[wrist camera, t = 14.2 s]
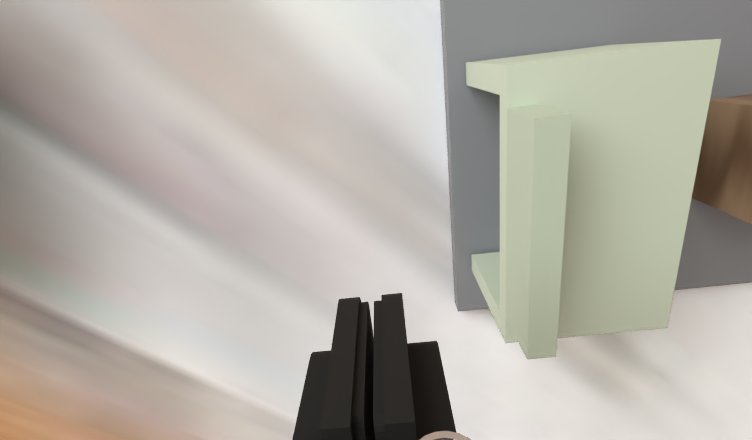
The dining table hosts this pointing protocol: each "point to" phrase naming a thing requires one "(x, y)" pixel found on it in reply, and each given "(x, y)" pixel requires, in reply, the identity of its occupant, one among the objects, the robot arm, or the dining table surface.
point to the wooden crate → (727, 158)
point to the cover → (592, 186)
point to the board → (566, 32)
